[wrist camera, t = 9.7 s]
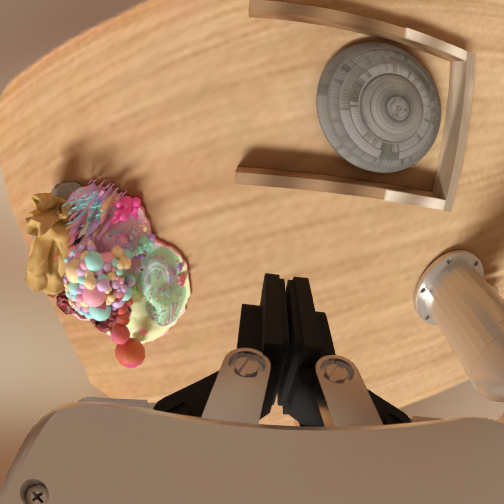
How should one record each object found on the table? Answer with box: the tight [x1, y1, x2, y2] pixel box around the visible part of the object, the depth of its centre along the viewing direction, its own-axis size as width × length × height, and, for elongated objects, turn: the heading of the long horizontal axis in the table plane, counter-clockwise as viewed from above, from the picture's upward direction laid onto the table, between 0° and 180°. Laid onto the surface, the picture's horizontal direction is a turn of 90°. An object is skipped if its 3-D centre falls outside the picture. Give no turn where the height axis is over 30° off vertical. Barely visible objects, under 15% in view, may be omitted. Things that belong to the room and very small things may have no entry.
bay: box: [235, 0, 475, 212], centre depth 29 cm, size 25×19×4 cm
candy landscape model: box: [25, 179, 191, 368], centre depth 36 cm, size 25×24×9 cm
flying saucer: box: [316, 41, 441, 173], centre depth 28 cm, size 15×15×6 cm
